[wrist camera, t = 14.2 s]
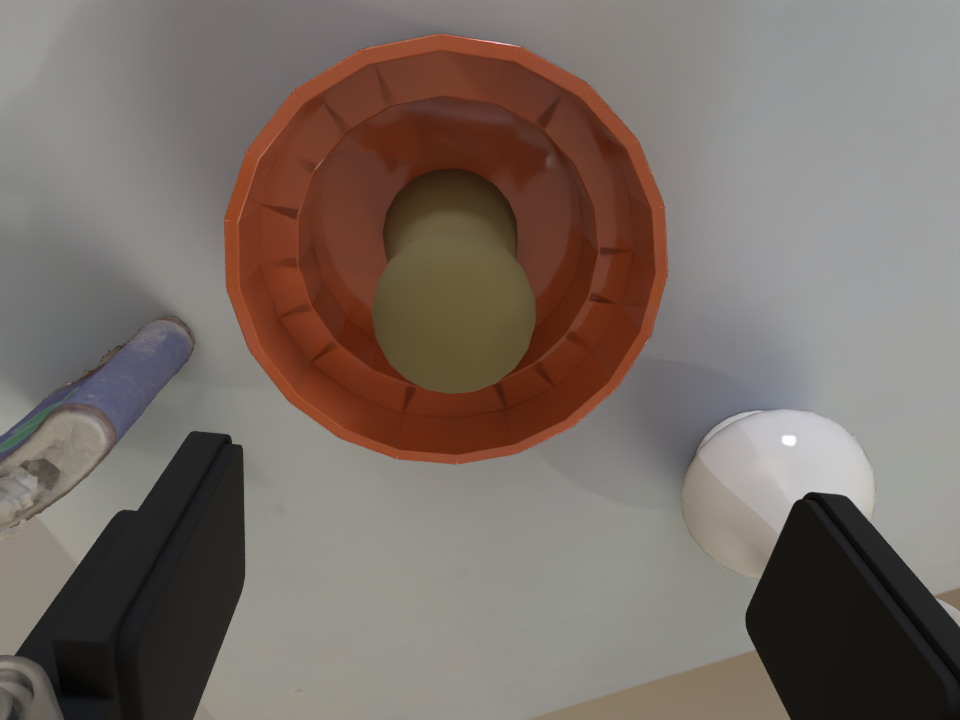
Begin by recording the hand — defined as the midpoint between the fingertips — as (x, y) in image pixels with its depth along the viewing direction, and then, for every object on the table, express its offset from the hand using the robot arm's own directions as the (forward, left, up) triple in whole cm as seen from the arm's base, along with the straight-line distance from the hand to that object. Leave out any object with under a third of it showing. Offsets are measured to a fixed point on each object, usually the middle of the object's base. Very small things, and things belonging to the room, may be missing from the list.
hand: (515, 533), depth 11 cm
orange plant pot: (0, -1, -21) cm, 21 cm away
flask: (+9, -16, -21) cm, 28 cm away
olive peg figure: (0, -1, -20) cm, 20 cm away
